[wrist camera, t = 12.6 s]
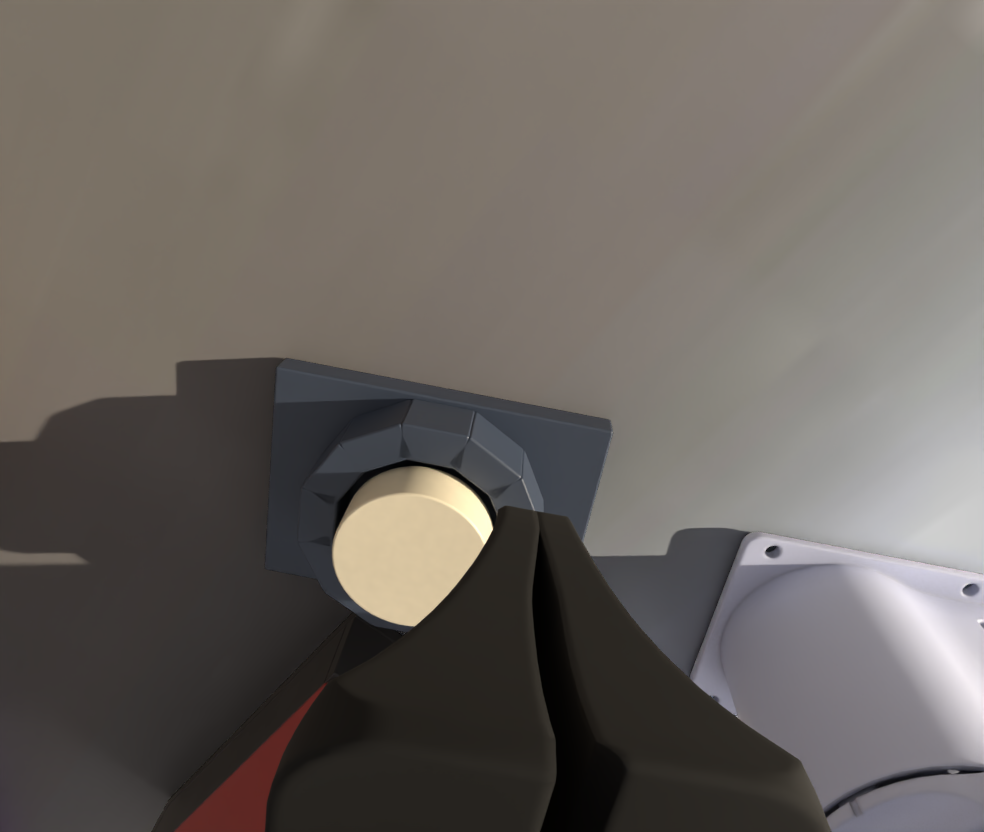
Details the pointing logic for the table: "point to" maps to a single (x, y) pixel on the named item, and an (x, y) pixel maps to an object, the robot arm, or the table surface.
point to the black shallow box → (278, 712)
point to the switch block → (412, 457)
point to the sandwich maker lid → (246, 786)
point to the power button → (408, 541)
